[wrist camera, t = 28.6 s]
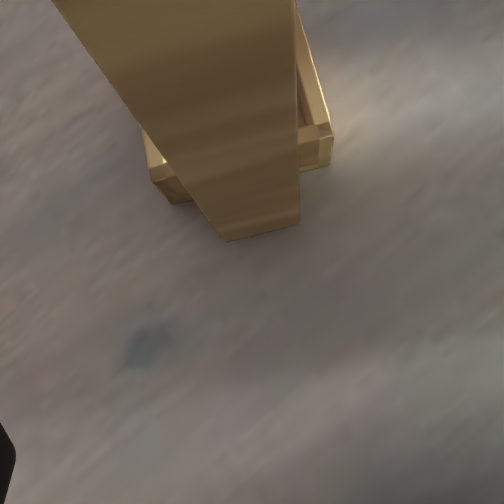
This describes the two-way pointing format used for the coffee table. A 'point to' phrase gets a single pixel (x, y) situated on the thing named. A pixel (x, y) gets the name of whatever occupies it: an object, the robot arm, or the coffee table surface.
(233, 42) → the wooden l-shaped stand
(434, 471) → the coffee table surface
